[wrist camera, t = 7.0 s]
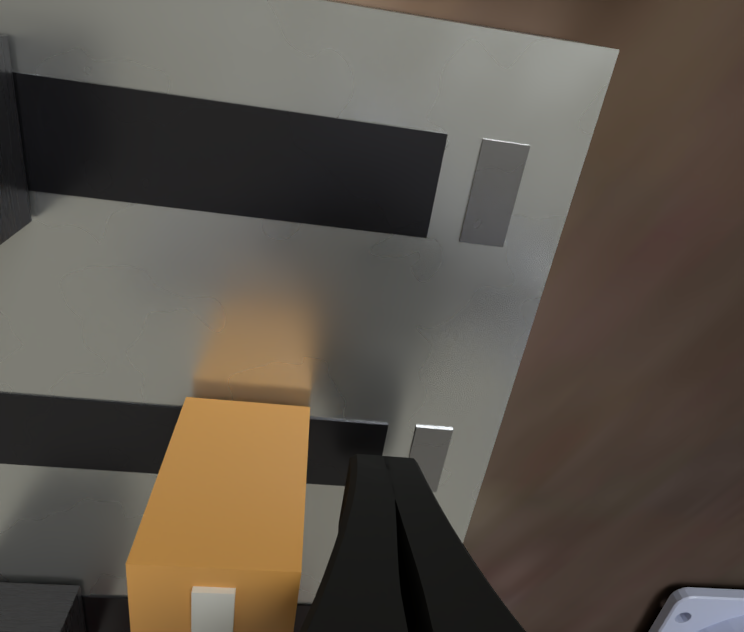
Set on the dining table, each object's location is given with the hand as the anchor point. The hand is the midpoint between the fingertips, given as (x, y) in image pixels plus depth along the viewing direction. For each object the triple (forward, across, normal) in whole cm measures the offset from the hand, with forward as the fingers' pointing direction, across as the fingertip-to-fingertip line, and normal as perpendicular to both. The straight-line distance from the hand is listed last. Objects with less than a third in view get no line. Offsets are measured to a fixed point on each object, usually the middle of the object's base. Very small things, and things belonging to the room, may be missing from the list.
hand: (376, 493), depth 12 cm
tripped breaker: (+1, +3, 0) cm, 3 cm away
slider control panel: (+3, +4, 0) cm, 5 cm away
